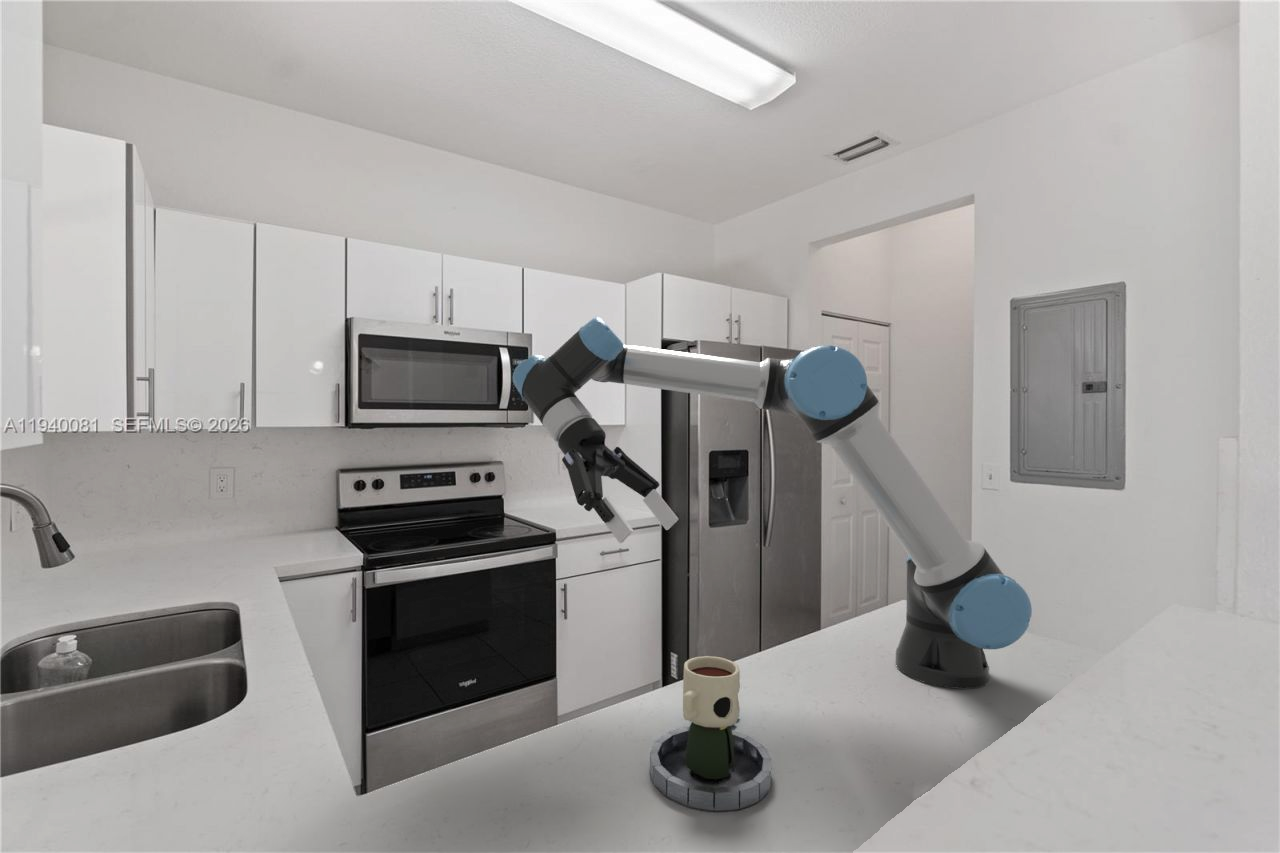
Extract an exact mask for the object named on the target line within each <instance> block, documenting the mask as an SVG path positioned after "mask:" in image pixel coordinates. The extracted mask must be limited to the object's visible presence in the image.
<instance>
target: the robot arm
mask: <svg viewBox="0 0 1280 853" xmlns="http://www.w3.org/2000/svg"><path fill="white" fill-rule="evenodd" d="M866 373H867V372H866V370H865V368H864V365H863V364H862V362H861V361H860V360H859V359H858V357H857V356H856V355H854V353H852V352H850V351H849V350H847V349H845V348H842V347H841V346H835V345H818V346H817V345H816V346H813V347H810V348H807V349H805V350H804V351H801V352H800V353H799V354H798V355H797V356H795V358H773V357H767V358H765V359H763V361H752V360H745V359H738V358H730V357H722V356H715V355H706V354H698V353H693V352H692V353H690V352H684V351H675V350H669V349H662V348H661V349H660V348H654V347H647V346H640V345H639V346H638V345H630V344H624V343H623V342H622V340H621V339H620V338H619V337H618V335H617V334H616V333H615V332H614V331H613V330H612V329H611V327H610V326H609V325H608V324H607V323H606V322H605V321H604V320H603V318H601V317H597V316H596V317H593V318H592V319H590V320H589V321H588V322H587V323H585V324H584V325H582V326H580V328H579V330H577V331H576V332H575V333H574V334H573V335H572V336H571V337H570V338H569V339H568V340H567V341H565V342H564V344H562V345H561V346H560V347H559V348H558V349H557V350H556V351H555V352H554V353H553V354H551V356H548V357H546V356H544V355H540V354H534V355H531V356H529V358H527V359H523V360H522V361H520V362H519V364H517V365H516V367H515V368H514V371H513V373H512V382H513V385H514V387H515V388H516V390H517V391H518V393H519V395H520V397H521V398H522V400H523V401H524V402H525V404H526V405H527V406H528V407H529V409H530V410H531V411H532V412H533V414H534V415H535V416H536V417H537V419H538V420H539V422H540V423H541V425H542V426H543V427H544V428H545V429H546V431H547V432H548V434H549V435H550V437H551V438H552V439H553V440H554V442H555V443H556V444H557V446H558V448H559V449H560V451H561V453H563V455H564V456H563V458H561V461H562V462H563V464H564V466H565V467H566V469H567V472H568V475H569V476H568V477H569V479H570V482H571V485H572V489H573V494H574V496H575V500H576V502H577V504H578V505H579V506H581V507H583V508H584V509H585V511H588V512H591V511H592V510H595V512H596V514H597V515H598V516H599V518H600V519H601V520H602V521H603V523H604V524H605V526H606V527H607V529H609V531H610V532H611V534H612V535H613V537H614V538H615V539H616V540H617V542H618V543H619V544H622V543H623V544H624V541H626V539H627V538H629V536H630V535H631V534H632V533H633V532H634V529H633V527H632V526H631V524H630V523H629V522H628V521H627V520H626V518H625V517H624V516H623V514H622V513H621V512H620V510H619V509H618V508H617V506H616V505H615V503H613V501H612V499H610V497H609V495H608V496H604V493H603V492H604V491H603V480H602V477H608V478H610V479H611V480H618V481H619V482H621V484H623V485H625V486H626V487H628V488H629V489H630V490H632V491H634V492H635V493H638V495H640V496H642V497H644V498H643V499H642V501H643V503H644V504H645V505H646V506H647V507H648V509H649V510H650V511H651V512H652V514H653V515H654V516H655V518H656V519H657V521H658V522H659V523H660V524H661V525H662V527H663V528H664V530H666V531H668V530H670V528H672V527H673V526H674V525H675V524H676V523H677V522H678V521H679V520H680V519H679V517H678V516H677V515H676V513H675V512H674V511H673V510H672V509H671V508H670V506H669V505H668V503H667V502H666V501H665V500H664V499H663V497H662V496H661V494H660V493H659V492H658V491H657V489H658V488H659V487H660V483H659V481H657V480H656V479H655V477H653V476H651V475H650V474H649V473H648V472H647V471H646V470H644V469H643V468H642V467H641V466H640V465H639V464H637V463H636V462H635V461H634V460H632V458H631V457H629V456H628V455H627V454H626V453H625V451H623V450H622V448H620V447H619V446H616V447H615V448H613V450H611V449H610V448H608V446H607V445H606V443H605V442H606V432H605V431H604V429H603V428H602V427H601V425H600V424H599V423H598V421H597V420H596V419H595V418H593V415H592V414H591V412H590V411H589V409H588V408H587V407H586V406H585V405H584V404H583V402H582V401H581V400H580V399H579V398H578V397H577V395H576V393H577V392H578V391H579V390H580V389H581V388H583V386H584V385H586V383H589V381H590V380H592V381H594V382H599V383H612V384H613V383H615V384H621V385H622V384H623V385H630V386H638V387H644V388H650V389H651V388H652V389H659V390H665V391H673V392H679V393H687V394H694V395H701V396H708V397H715V398H722V399H730V400H737V401H742V402H743V401H744V402H751V403H754V404H755V405H756V406H757V407H758V408H759V409H761V410H769V411H773V412H778V413H782V414H786V415H788V416H792V417H795V418H797V419H800V420H801V422H802V423H803V424H804V426H805V428H807V430H808V431H809V433H810V434H811V436H812V437H813V439H814V440H815V441H816V443H820V444H824V445H828V446H831V448H832V449H833V450H834V452H835V453H836V455H837V456H838V457H839V459H840V460H841V461H842V463H843V465H844V466H845V467H846V469H847V470H848V471H849V472H848V473H850V475H851V476H852V477H853V478H854V480H855V482H856V483H857V484H858V486H859V487H860V489H861V490H862V491H863V493H864V494H865V496H866V497H867V498H868V500H869V501H870V503H871V504H872V505H873V507H874V509H875V510H876V511H877V513H878V515H880V517H881V518H882V519H883V521H884V522H885V524H886V525H887V527H888V528H889V530H890V531H891V533H892V534H893V535H894V536H895V538H896V540H897V541H898V542H899V544H900V546H902V549H904V551H905V552H906V553H907V558H906V560H905V564H906V616H905V617H906V619H905V622H906V623H905V627H904V629H903V631H902V633H901V636H900V639H899V643H898V646H897V647H896V649H895V650H896V651H895V666H896V665H897V666H896V668H897V667H898V668H899V669H900V670H901V671H900V670H899V669H898V668H897V669H898V670H899V671H900V672H901V673H903V674H904V673H905V675H906V674H907V675H906V676H908V677H910V676H911V677H910V678H912V677H913V679H915V680H917V679H918V681H920V680H921V681H920V682H923V681H924V682H923V683H926V684H930V685H934V684H935V685H934V686H939V687H944V688H951V689H975V688H976V689H977V688H980V687H984V686H986V685H987V684H988V683H989V680H990V666H989V663H988V661H987V657H986V655H985V652H984V650H999V649H1003V648H1007V647H1008V646H1011V645H1012V644H1014V643H1016V642H1017V641H1018V640H1020V639H1021V638H1022V637H1023V635H1024V634H1025V633H1026V631H1027V630H1028V628H1029V626H1030V621H1031V619H1032V612H1033V611H1032V603H1031V600H1030V597H1029V596H1028V593H1027V592H1026V590H1025V589H1024V588H1023V587H1022V586H1021V585H1020V584H1019V583H1018V582H1017V581H1016V579H1013V578H1012V577H1010V576H1007V575H1005V573H1003V571H1002V570H1001V569H1000V567H999V566H998V565H997V563H996V561H994V559H993V558H992V557H991V555H990V554H989V552H988V551H987V549H986V548H985V547H984V545H983V544H982V543H980V542H977V541H974V540H969V539H966V538H965V536H964V535H963V533H962V532H961V531H960V530H959V528H958V527H957V525H956V523H954V521H953V520H952V518H951V517H950V516H949V514H948V513H947V511H946V510H945V508H944V507H943V506H942V505H941V503H940V501H939V500H938V498H937V497H936V496H935V494H934V493H933V492H932V491H931V489H930V488H929V486H928V484H927V483H926V482H925V480H924V479H923V478H922V477H921V475H920V473H919V472H918V471H917V470H916V467H914V465H913V464H912V462H911V461H910V460H909V458H908V457H907V455H906V454H905V453H904V452H903V450H902V449H901V446H899V444H898V443H897V441H896V440H895V439H894V437H893V436H892V434H891V433H890V432H889V430H888V429H887V428H886V426H885V424H884V423H883V421H881V419H880V418H879V408H880V404H881V402H880V401H879V399H878V398H877V397H876V395H875V393H874V392H873V391H872V389H871V388H870V386H869V385H868V379H867V374H866ZM603 497H604V498H603ZM985 684H986V685H985Z"/></svg>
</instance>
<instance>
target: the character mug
mask: <svg viewBox="0 0 1280 853" xmlns="http://www.w3.org/2000/svg"><path fill="white" fill-rule="evenodd" d="M740 672H741V671H740V666H739V665H738V664H737V663H736V662H734V661H732V660H729V658H724V657H719V656H714V655H713V656H711V655H705V656H703V655H702V656H696V657H692V658H688V659H687V660H686V661H685V662H684V664H683V682H682V684H683V685H682V689H683V691H682V694H683V695H682V713H683V714H682V715H683V718H684V720H685V721H689V722H691V723H690V725H689V727H690V728H689V735H688V741H687V748H686V757H685V763H686V765H687V767H688V768H689V769H690V770H692V771H693V772H695V773H696V774H698V775H700V776H702V777H704V778H707V779H721V778H725V777H728V776H729V771H728V766H729V765H730V763H731V761H732V771H733V772H734V769H735V757H734V746H733V738H732V730H733V729H732V728H731V727H732V726H734V725H735V724H737V723H736V722H738V719H739V717H740V708H741V707H740V701H739V692H740V689H741V682H740V679H741V678H740V677H741V673H740ZM733 724H734V725H733ZM731 725H732V726H731Z"/></svg>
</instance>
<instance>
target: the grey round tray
mask: <svg viewBox="0 0 1280 853" xmlns="http://www.w3.org/2000/svg"><path fill="white" fill-rule="evenodd" d="M689 728H690V726H684V727H681V728H676V729H674V730H671V731H668V732H666V733H664V734H663V735H662V736H660V737H659V738H657V739H656V740H654V742H653V745H652V747H651V749H650V751H649V769H648V770H649V773H650V779H651V781H652V783H653V785H654V786H655V787H656V789H657V790H658V792H660V793H661V794H663V796H665V797H666V798H668V799H669V800H670V801H672V802H674V803H676V804H679V805H681V806H684V807H687V808H689V809H693V810H698V811H703V812H710V813H711V812H713V813H728V812H735V811H739V810H744V809H746V808H750V807H752V806H754V805H756V804H757V803H759V802H761V801H762V800H763V799H764V798H765V797H766V796H767V795H768V793H769V791H770V790H771V787H772V786H771V784H772V764H773V763H772V757H771V756H770V754H769V753H768V750H766V748H765V746H763V745H762V744H761V743H759V742H758V741H757V740H755V739H753V738H752V737H750V736H749V735H747V734H744V733H742V732H738V731H736V730H734V729H732V738H733V746H734V757H735V769H734V772H733V771H732V761H731V763H730V765H729V766H728V771H729V776H728V777H725V778H721V779H707V778H704V777H702V776H700V775H698V774H696V773H695V772H693V771H692V770H690V769H689V768H688V767H687V765H686V763H685V757H686V748H687V741H688V735H689Z"/></svg>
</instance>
